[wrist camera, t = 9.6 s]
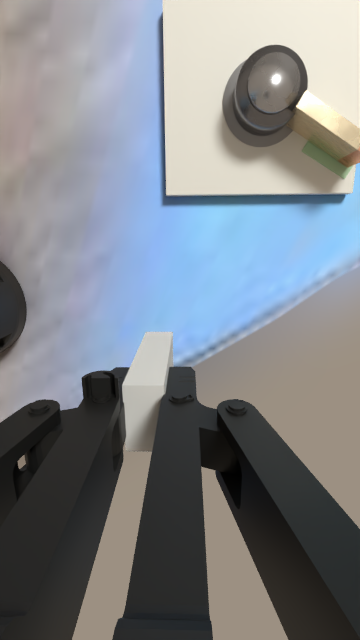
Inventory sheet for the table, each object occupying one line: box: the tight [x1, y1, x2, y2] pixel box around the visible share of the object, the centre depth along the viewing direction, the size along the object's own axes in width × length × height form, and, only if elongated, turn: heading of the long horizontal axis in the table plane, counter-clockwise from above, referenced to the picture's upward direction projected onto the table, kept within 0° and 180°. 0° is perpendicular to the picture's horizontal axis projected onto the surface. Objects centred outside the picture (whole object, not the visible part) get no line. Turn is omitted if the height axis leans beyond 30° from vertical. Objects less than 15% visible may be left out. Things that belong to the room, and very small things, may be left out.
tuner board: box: [163, 0, 360, 196], centre depth 35 cm, size 23×19×1 cm
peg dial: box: [232, 45, 360, 168], centre depth 32 cm, size 16×7×4 cm, turn 59°
